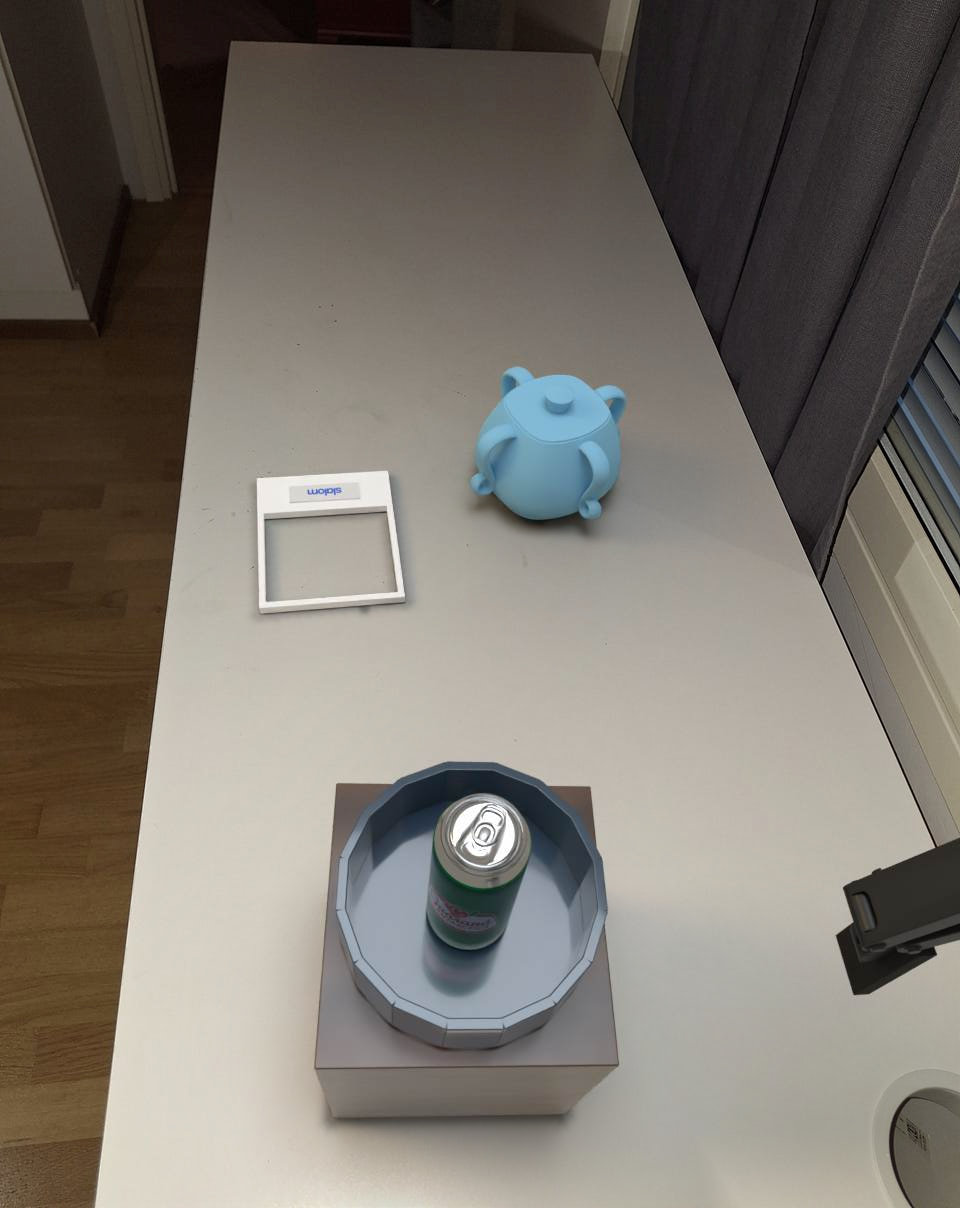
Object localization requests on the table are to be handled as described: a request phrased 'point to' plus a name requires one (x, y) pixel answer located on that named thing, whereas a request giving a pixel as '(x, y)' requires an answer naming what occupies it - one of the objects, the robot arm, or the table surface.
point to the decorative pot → (550, 446)
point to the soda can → (476, 869)
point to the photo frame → (325, 499)
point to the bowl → (445, 973)
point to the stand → (445, 1075)
